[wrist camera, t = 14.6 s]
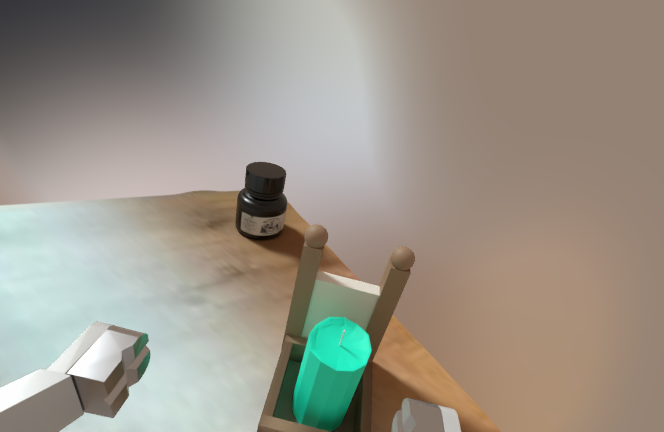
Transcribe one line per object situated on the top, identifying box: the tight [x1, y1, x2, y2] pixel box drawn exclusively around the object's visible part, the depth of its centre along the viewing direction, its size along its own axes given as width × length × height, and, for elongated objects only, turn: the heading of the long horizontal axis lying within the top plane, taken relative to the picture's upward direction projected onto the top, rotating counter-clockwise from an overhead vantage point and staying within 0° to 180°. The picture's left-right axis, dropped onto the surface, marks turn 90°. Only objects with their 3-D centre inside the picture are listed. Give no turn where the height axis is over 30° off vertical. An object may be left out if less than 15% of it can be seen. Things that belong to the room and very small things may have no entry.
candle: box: [292, 317, 372, 432], centre depth 32 cm, size 6×6×12 cm
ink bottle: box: [236, 162, 287, 239], centre depth 59 cm, size 10×9×12 cm
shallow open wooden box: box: [257, 334, 372, 432], centre depth 35 cm, size 10×10×3 cm
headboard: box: [281, 225, 415, 361], centre depth 37 cm, size 11×2×18 cm, turn 83°
